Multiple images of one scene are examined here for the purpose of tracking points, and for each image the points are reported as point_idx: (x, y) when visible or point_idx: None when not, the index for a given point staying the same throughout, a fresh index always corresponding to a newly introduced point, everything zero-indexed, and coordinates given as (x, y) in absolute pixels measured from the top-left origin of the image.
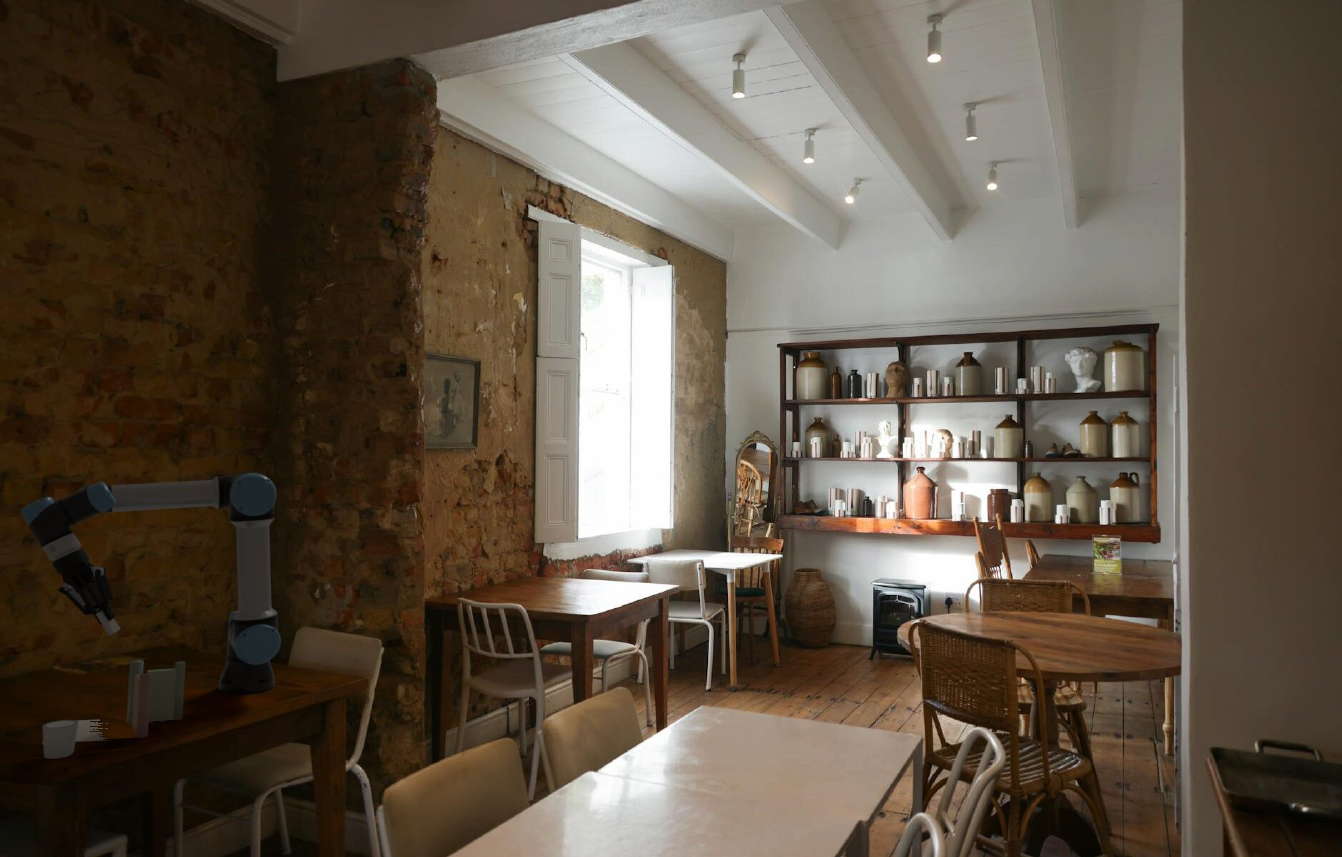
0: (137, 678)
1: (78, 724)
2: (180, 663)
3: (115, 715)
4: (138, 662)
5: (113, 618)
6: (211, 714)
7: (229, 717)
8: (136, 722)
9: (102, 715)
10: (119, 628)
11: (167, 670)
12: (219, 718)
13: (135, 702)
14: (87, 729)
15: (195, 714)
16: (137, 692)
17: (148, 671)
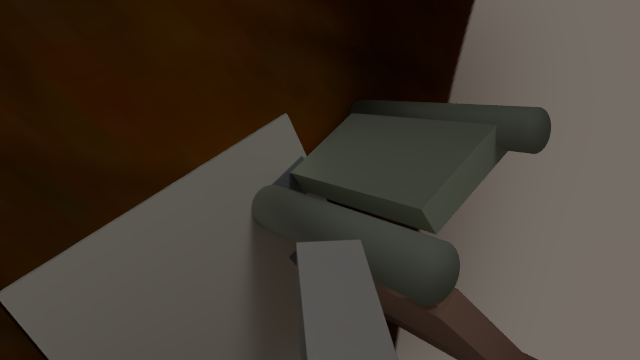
0: (477, 351)
1: (91, 305)
2: (543, 142)
3: (111, 132)
4: (450, 281)
5: (389, 341)
6: (410, 19)
7: (464, 36)
8: (382, 306)
9: (54, 152)
10: (363, 254)
11: (487, 174)
12: (448, 54)
13: (395, 305)
14: (181, 328)
15: (370, 32)
16: (446, 338)
17: (436, 226)
